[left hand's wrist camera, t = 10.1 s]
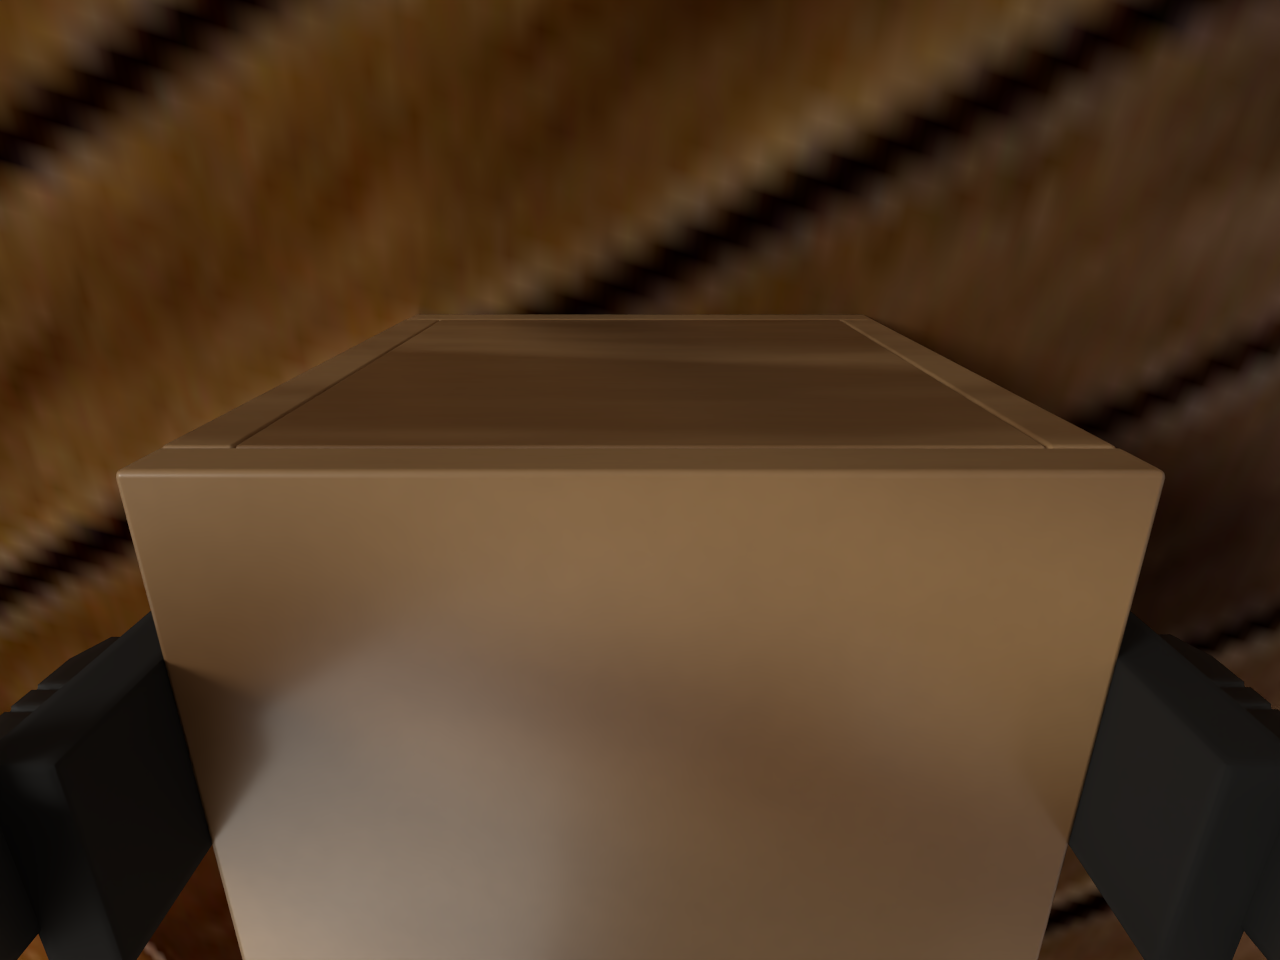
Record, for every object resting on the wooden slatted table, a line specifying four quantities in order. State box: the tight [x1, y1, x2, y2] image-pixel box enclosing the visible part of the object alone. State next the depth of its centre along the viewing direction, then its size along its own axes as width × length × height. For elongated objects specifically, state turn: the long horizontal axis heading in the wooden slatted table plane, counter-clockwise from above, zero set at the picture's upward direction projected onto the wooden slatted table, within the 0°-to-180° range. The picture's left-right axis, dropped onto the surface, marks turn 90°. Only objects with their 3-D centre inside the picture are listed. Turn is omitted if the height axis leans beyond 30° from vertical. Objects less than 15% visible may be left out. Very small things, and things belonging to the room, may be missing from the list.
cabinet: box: [116, 315, 1165, 960], centre depth 16 cm, size 20×11×11 cm, turn 0°
